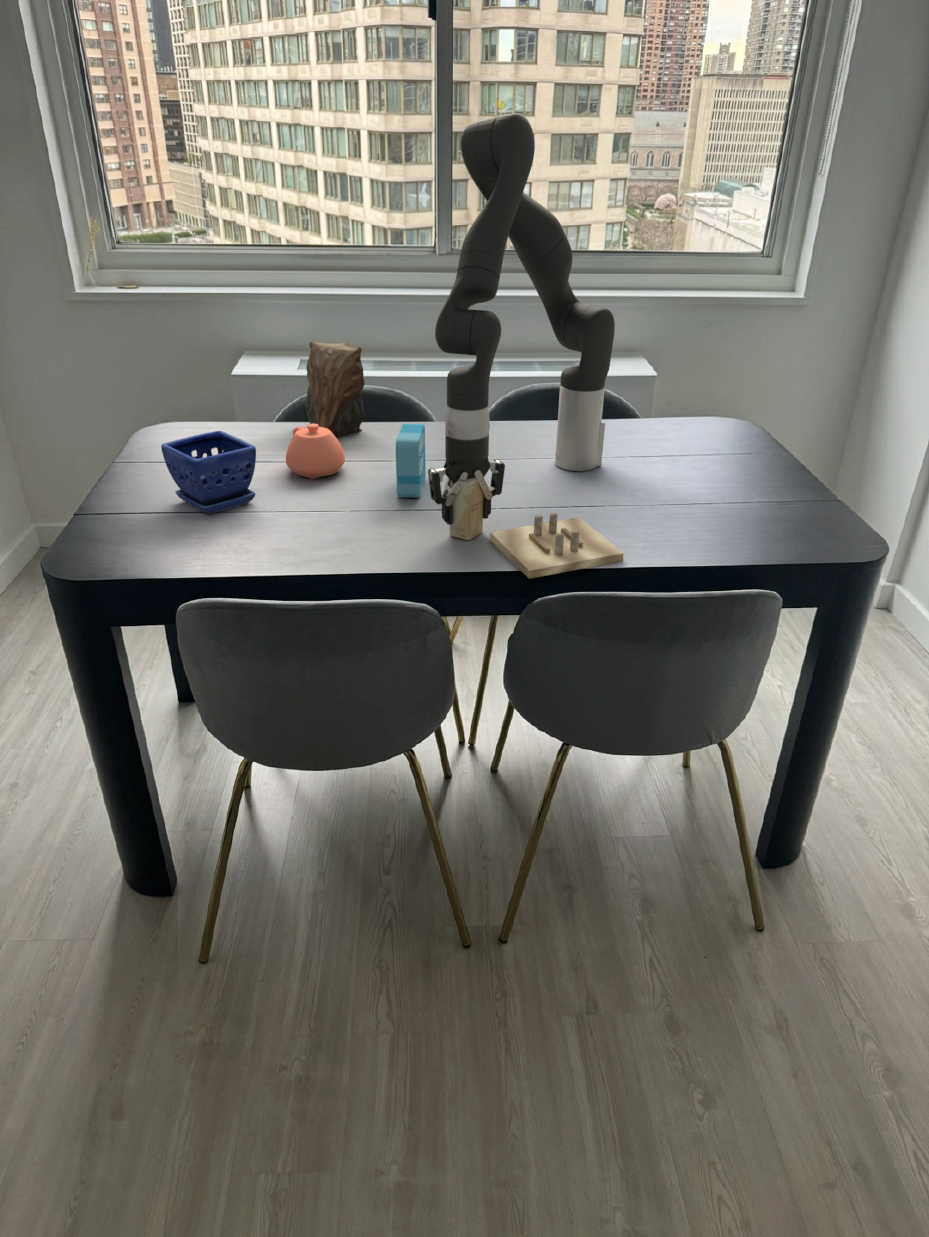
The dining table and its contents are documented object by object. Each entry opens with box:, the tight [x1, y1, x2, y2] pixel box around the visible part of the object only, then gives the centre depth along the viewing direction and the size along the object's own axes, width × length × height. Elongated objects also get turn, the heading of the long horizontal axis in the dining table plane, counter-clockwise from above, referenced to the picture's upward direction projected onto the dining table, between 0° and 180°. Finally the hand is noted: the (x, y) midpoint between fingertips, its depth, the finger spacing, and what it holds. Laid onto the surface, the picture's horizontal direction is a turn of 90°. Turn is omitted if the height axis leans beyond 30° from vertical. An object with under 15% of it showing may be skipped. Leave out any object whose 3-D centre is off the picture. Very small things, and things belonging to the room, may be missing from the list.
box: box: [449, 478, 484, 541], centre depth 157 cm, size 5×4×11 cm
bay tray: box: [489, 512, 625, 580], centre depth 153 cm, size 18×16×5 cm
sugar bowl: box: [285, 423, 346, 480], centre depth 184 cm, size 12×14×10 cm
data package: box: [395, 423, 426, 499], centre depth 175 cm, size 12×4×12 cm, turn 176°
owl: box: [304, 340, 366, 439], centre depth 204 cm, size 13×13×20 cm
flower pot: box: [160, 430, 257, 515], centre depth 168 cm, size 13×13×12 cm
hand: (466, 519), depth 159 cm, fingers closed on box, 6 cm apart
